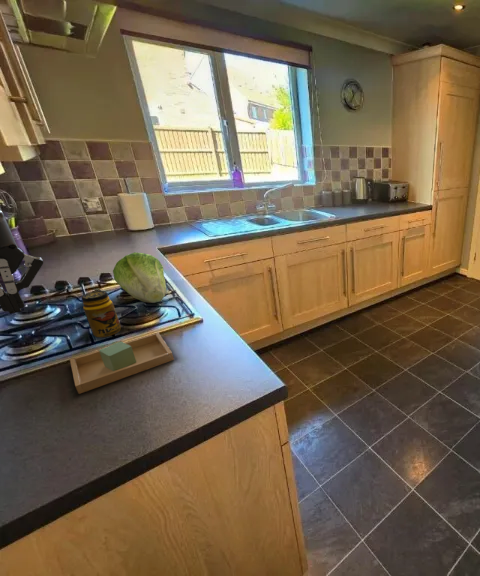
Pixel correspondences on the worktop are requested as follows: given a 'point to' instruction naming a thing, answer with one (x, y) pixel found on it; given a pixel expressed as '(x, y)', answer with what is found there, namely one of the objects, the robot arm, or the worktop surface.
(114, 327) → the condiment
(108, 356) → the block
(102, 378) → the tray
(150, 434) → the worktop surface
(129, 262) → the lettuce
